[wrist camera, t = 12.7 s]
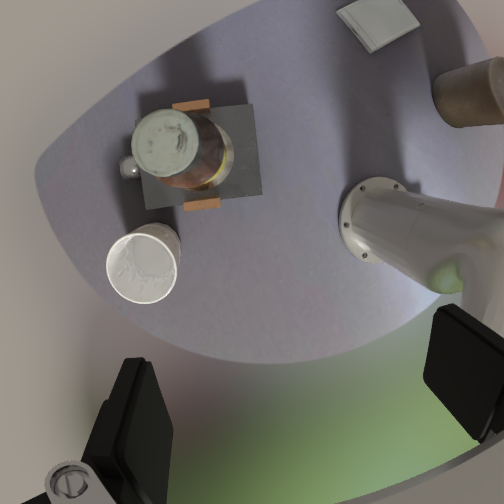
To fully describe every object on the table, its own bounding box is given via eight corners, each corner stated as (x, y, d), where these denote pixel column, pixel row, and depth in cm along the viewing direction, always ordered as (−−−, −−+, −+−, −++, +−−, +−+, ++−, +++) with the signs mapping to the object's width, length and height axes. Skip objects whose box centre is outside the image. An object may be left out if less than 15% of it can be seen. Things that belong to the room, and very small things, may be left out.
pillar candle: (464, 138, 43) (530, 138, 28) (424, 106, 41) (491, 92, 26) (476, 94, 41) (537, 85, 26) (438, 61, 39) (500, 40, 24)
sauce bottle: (237, 148, 36) (253, 130, 17) (206, 193, 37) (190, 223, 18) (190, 118, 35) (157, 71, 15) (160, 163, 36) (97, 163, 17)
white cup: (119, 231, 41) (94, 250, 32) (171, 208, 41) (157, 220, 32) (144, 282, 43) (126, 313, 34) (194, 261, 43) (189, 288, 34)
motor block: (248, 105, 39) (255, 94, 32) (258, 195, 42) (266, 201, 35) (122, 124, 38) (105, 117, 31) (133, 212, 41) (118, 221, 34)
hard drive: (390, -14, 34) (337, 9, 35) (421, 25, 36) (373, 52, 37) (385, -10, 35) (334, 13, 36) (416, 28, 38) (368, 55, 39)
